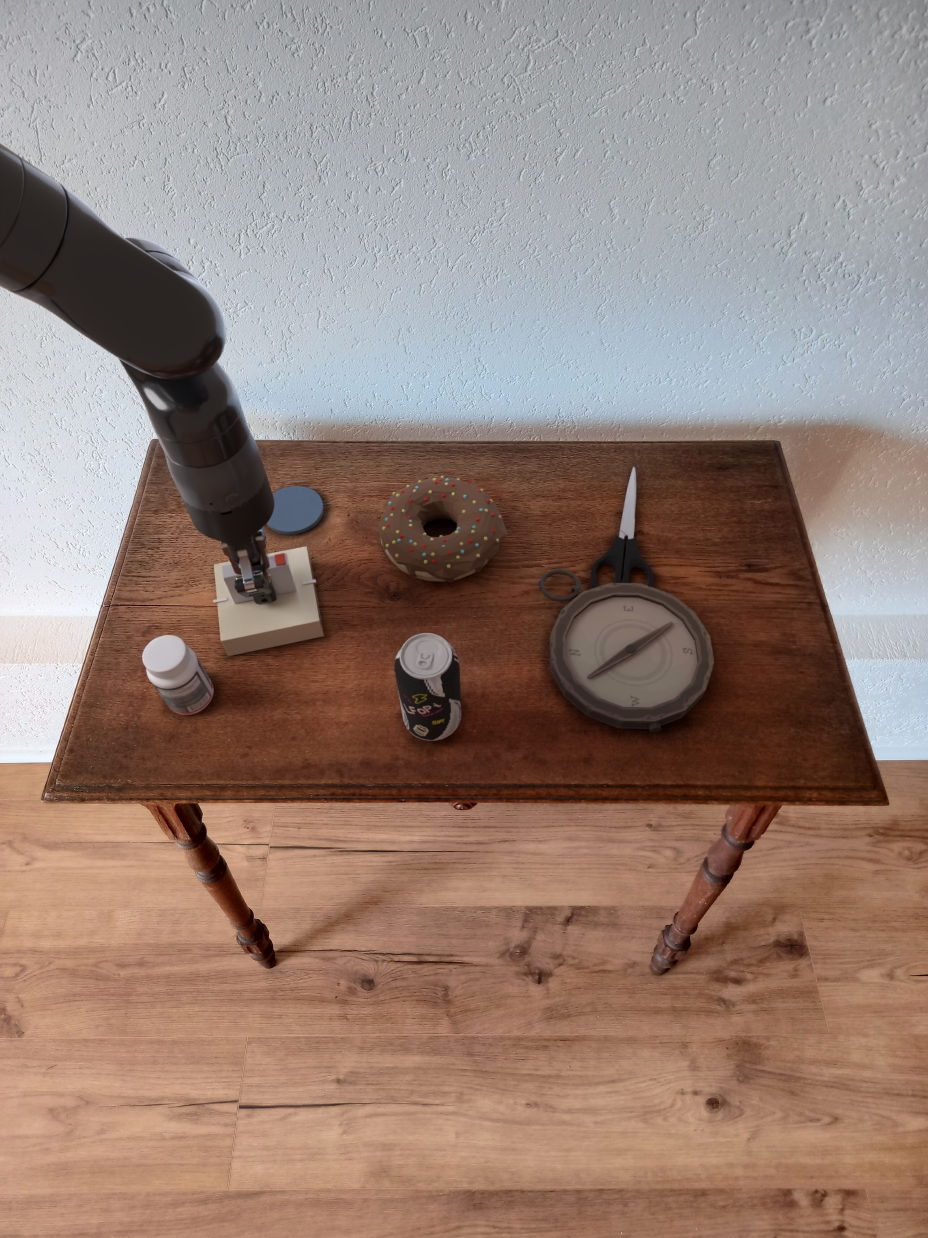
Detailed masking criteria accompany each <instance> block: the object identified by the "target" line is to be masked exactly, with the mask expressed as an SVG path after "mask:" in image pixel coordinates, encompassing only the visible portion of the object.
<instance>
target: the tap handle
mask: <svg viewBox="0 0 928 1238" xmlns="http://www.w3.org/2000/svg"><path fill="white" fill-rule="evenodd" d="M269 562H270V568H268V571H269V574H271V581H272V584H273V587H274V589H275V592H276V595H279V594H284V593H289V592H294V591H297V588H296V582H295V577H294V574H293V571H292V568H291V565H290V562H289V559H288V556H287V553H281V554H276V555H274V556H269ZM222 572H223V579H224V581H225V583H226V586H227V588H228V590H229V592H230V595H231V597H232V599H233V601H234V603H240V602H245V601H250V600H254V598H253V596H251V597H249V598H246V597H244V596H242V595H240V594H239V593H237V590H235V587H234V584H235V580H236V577H237V576H241V575H237V574H235V572H234V570H233V567H232V565H231V564H230V565H225V566H222ZM254 572H255V573H256V572H261V571H254Z"/></svg>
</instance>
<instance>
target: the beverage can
mask: <svg viewBox="0 0 928 1238" xmlns="http://www.w3.org/2000/svg"><path fill="white" fill-rule="evenodd" d="M393 664H394V665H393V667H394V675H395V682H396V688H397V691H398V697H399V703H400V708H401V709H400V710H401V714H402V715H401V716H402V720H403V724H404V725H405V728H406V729H407V730H408V732H409V733H410V734H411V735H412V736H414V737H416V738H417V739H419V740H423V741H427V742H436V741H440V740H444V739H445V738H447V737H449V736H451V735H452V734H454V732H455V731H456V730H457V729H458V727H459V726H460V723H461V721H462V716H463V715H462V714H463V711H462V688H461V665H460V664H461V663H460V659H459V654H458V653H457V651H456V650H455V648H454V646H453V645H451V644H450V643H449V642H448V641H447V640H446V639H445V638H443V636H441V635H438V634H437V633H432V632H422V633H418V634H415V635H412V636H410V637H409V638H408V639H407V640H405V642H404V643H403V645H402V646H401V648H400V649H399V650H398V652H397V654H396V656H395V660H394V663H393Z"/></svg>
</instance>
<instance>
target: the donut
mask: <svg viewBox="0 0 928 1238" xmlns="http://www.w3.org/2000/svg"><path fill="white" fill-rule="evenodd" d="M436 520H447V521H452V522H454V523H455V524H456V529H455V530H454V531H453V532H452V533H450V534H447V535H442V534H441V535H439V536H438V537H437V536H430V535H428V534H427V533H426V532H425V529H424V526H425V525H426V524H427V523H430V522H433V521H436ZM377 534H378V536H379V537H380V538H379V539H380V544H381V546H382V548H383V553H384V555H385V556H387V557H388V559H389V560H390V561H391V563H393V564H394V566H396V567H397V568H398V569H399V570H400V571H402V572H404V573H406V574H407V575H409V577H410V578H416V579H420V580H424V581H427V582H448V583H451V584H452V583H453V582H454V581H456V580H460V579H464V578H465V577H467V576H470V575H473V574H474V573H476V572H477V573H478V572H479V573H480V572H481V571H482V569H483V568H484V567H485V565H486V564H487V563H488V562H490V561H491V560H492V558H493V557H494V556H495V555H496V554H497V553H498V552H499V550H500V545H501V542H502V541H503V540H504V538H506V537H507V535H508V534H509V533H508V530H507V528H506V525H505V523H504V520H503V518H502V515H501V513H500V511H499V508H498V506H497V504H496V503H495V501H494V500H493V499H492V498H491V497H490V496H489V495H488V494H487V492H485V491H484V488H478V487H476V486H474V485H473V484H471V483H470V482H467V481H464V480H461V479H460V478H454V477H444V475H441V476H440V477H439V476H434V477H429V478H426V479H422V480H421V479H419V480H418V481H417V482H414V483H411V484H407V485H406V486H404V487H402V488H400V489H398V490H396V491H393V492H392V495H391V496H390V497H389V499H388V500H387V502H386V506H385V509H384V511H383V513H382V515H381V517H380V520H379V524H378V528H377Z"/></svg>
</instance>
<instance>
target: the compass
mask: <svg viewBox="0 0 928 1238" xmlns="http://www.w3.org/2000/svg"><path fill="white" fill-rule="evenodd" d="M555 575H562V576H566V577H569V579H572V581H573V582H574V583H575V585H571V587H570V593H571V594H569V595H568V596H567V595H566V596H558V595H557V596H556V595H553V594H552V593H549V592H548V590H547V589H546V587H545V583H546V581H547V579H549V578H550V577H552V576H555ZM538 583H539V586H538V587H539V590H540V592H541V594H543V596H544V597H545V598H547V599H548V600H550V601H552V602H555V603H556V602H557V603H567V602H569V603H568V604H566V605H565V606H564V607H562V608H561V610H560V612H559V615H558V616H557V618H556V621H555V623H554V625H553V627H552V629H551V632H550V634H549V641H548V642H549V644H548V645H549V670H550V672H551V675H552V676H553V678H554V680H555V682H556V684H557V686H558V688H559V690H560V692H561V694H562V696H563V697H564V699H565V698H566V700H567V701H569V702H570V703H571V705H573V706H574V707H576V708H577V709H578V710H579V711H580V712H581V713H582V714H584V716H586V717H587V718H589V719H593V720H595V721H598V722H601V723H603V724H605V725H608V726H611V727H614V728H616V729H621V730H622V729H624V730H625V729H626V730H649V732H650V733H651V734H652V733H653V734H654V733H658V732H660V731H661V730H662V727H661V726H664V725H667V724H670V723H672V722H675V721H678V720H680V719H682V718H683V717H684V716H685V715H686V714H687V713H688V712H689V711H690V710H691V709H692V708H693V707H694V706H695V705H696V704H698V702H699V701H700V700H702V698H703V696H704V694H705V692H706V690H707V688H708V684H709V681H710V678H711V675H712V673H713V668H714V666H715V659H714V652H713V646H712V645H713V644H712V639H711V634H709V632H708V630H707V629H706V627H705V626H704V624H703V622H702V621H701V620H700V618H699V616H698V615H697V613H696V612H695V611H694V610H693V609H692V608H690V606H688V605H687V604H685V603H684V602H682V601H681V600H680V599H678V598H677V597H675V596H674V595H673V594H671V593H670V592H667V591H664V590H661V589H658V588H656V587H653V586H652V587H650V586H648V584H644V583H641V582H628V583H614V582H608V583H605V584H603V585H600V586H599V585H598V587H596V588H593V589H592V588H590V589H587V590H584V591H582V582H581V581H580V579H579V578H578V576H577V575H576V574H575V573H573V572H572V571H570V570H566V569H561V568H558V569H551V570H549V571H547V572H545V573H543V575H542V576H541V578H540V580H539V581H538Z"/></svg>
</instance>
